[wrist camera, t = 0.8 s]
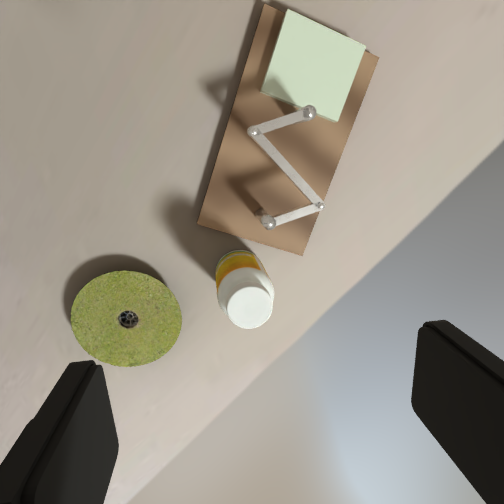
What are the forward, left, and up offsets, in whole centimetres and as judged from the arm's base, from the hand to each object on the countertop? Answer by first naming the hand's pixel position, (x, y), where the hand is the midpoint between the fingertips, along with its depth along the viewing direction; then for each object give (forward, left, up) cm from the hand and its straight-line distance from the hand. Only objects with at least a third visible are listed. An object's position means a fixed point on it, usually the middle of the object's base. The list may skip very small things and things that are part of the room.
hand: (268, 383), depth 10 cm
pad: (+16, -4, -28) cm, 32 cm away
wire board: (+9, -4, -28) cm, 29 cm away
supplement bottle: (-5, -4, -28) cm, 29 cm away
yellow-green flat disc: (-13, +6, -28) cm, 32 cm away
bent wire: (+7, -4, -27) cm, 28 cm away
